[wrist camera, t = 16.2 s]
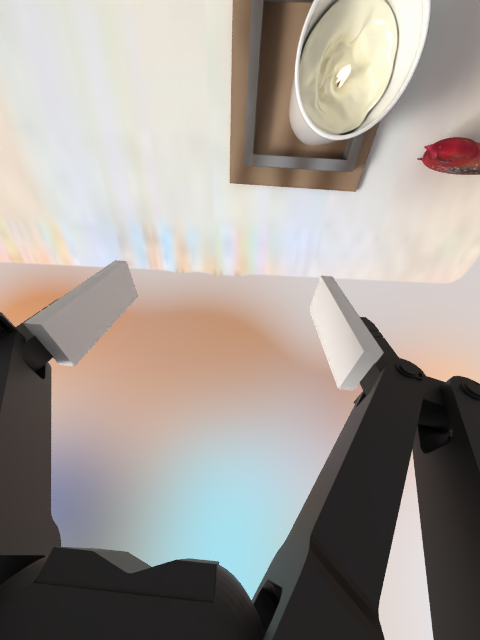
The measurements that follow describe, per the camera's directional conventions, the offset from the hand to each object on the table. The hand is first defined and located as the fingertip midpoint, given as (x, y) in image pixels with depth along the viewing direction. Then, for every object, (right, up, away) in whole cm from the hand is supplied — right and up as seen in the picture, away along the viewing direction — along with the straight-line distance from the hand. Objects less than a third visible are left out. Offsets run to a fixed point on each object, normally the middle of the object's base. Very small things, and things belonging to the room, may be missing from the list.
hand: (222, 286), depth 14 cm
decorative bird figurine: (+32, +21, +15) cm, 41 cm away
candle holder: (+12, +26, +12) cm, 31 cm away
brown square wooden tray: (+10, +27, +12) cm, 32 cm away
